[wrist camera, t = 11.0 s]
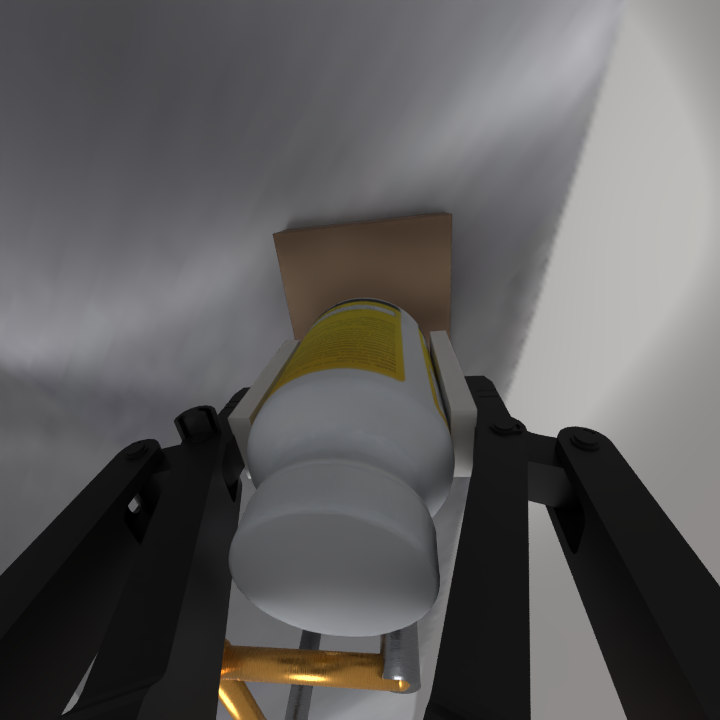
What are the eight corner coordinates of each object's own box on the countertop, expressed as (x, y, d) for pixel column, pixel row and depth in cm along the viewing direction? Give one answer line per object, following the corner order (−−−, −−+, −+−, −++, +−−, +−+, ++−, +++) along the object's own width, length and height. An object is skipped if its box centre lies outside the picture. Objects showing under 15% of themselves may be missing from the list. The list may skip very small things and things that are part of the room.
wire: (261, 426, 28) (132, 656, 14) (424, 420, 27) (462, 677, 12) (306, 576, 38) (257, 801, 24) (428, 579, 36) (451, 824, 22)
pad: (285, 229, 21) (272, 234, 19) (444, 212, 19) (451, 214, 17) (316, 389, 26) (309, 407, 24) (443, 383, 25) (448, 401, 23)
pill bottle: (284, 328, 17) (118, 527, 7) (394, 269, 15) (396, 420, 5) (346, 418, 19) (292, 670, 9) (448, 377, 18) (527, 634, 7)
